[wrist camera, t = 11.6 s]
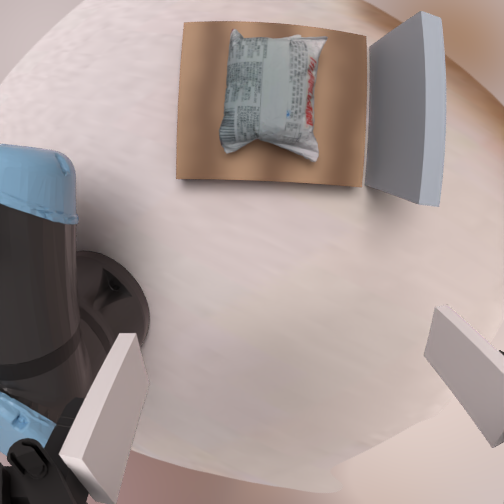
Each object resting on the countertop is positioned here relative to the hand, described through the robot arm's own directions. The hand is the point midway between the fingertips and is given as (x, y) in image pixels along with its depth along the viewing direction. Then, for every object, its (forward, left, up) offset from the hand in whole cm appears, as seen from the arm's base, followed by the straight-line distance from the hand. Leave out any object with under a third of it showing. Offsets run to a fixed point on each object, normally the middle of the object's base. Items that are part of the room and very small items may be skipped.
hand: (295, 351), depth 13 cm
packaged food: (0, +13, -20) cm, 24 cm away
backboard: (+12, +13, -23) cm, 29 cm away
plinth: (0, +13, -23) cm, 26 cm away
